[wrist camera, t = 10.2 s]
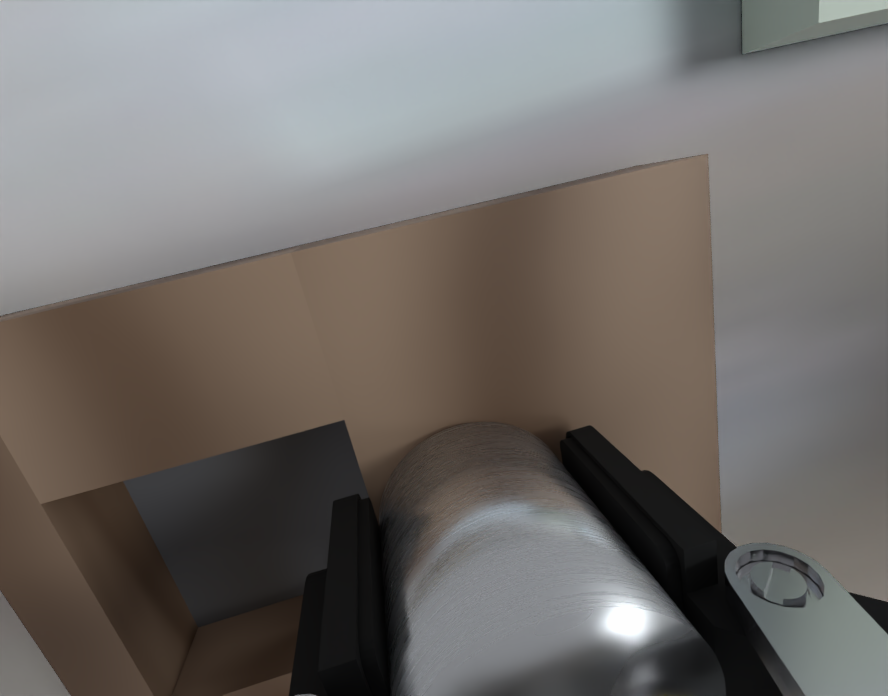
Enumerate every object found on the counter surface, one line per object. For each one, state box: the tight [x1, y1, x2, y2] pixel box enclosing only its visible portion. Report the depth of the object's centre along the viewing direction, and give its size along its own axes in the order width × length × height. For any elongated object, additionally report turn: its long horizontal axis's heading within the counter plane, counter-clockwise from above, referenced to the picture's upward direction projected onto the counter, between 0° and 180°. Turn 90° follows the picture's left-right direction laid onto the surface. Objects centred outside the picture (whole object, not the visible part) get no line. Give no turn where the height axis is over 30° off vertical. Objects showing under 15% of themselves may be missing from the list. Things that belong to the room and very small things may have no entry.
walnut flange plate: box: [0, 154, 721, 696], centre depth 12 cm, size 16×13×3 cm
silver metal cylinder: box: [379, 422, 726, 696], centre depth 8 cm, size 4×4×5 cm
